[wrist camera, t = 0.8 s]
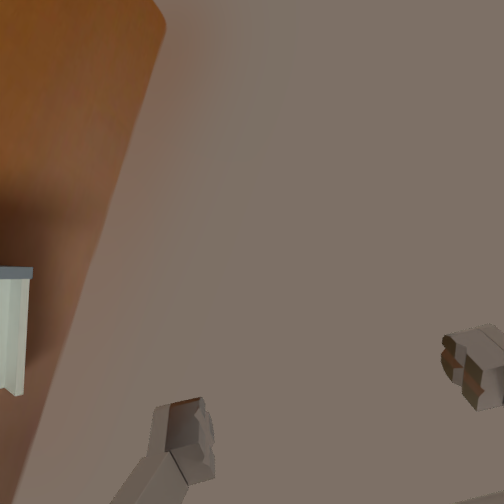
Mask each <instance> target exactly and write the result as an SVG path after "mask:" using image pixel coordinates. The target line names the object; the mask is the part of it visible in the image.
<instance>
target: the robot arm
mask: <svg viewBox="0 0 504 504" xmlns="http://www.w3.org/2000/svg"><path fill="white" fill-rule="evenodd" d="M442 344H443V346H444V347H445V350H444V351H443V352H442V354H441V363H442V366H443V369H444V371H445V373H446V375H447V376H448V378H449V379H450V380H451V381H452V383H454V384H457V385H459V386H461V387H462V395H463V396H464V397H465V398H466V400H467V401H468V402H469V403H470V404H471V406H472V407H473V408H474V409H475V411H482V410H486V409H491V408H495V407H500V406H504V333H503V332H502V331H501V330H499V329H498V328H497V327H496V326H495V325H492V324H486V325H482V326H478V327H475V328H469V329H466V330H462V331H458V332H454V333H450V334H447V335H444V337H443V338H442ZM213 444H214V430H213V424H212V420H211V417H210V414H209V412H207V411H205V402H204V400H203V398H202V397H198V398H193V399H189V400H184V401H180V402H175V403H171V404H168V405H163V406H159V407H156V409H155V411H154V413H153V419H152V425H151V432H150V438H149V444H148V451H147V456H146V457H144V458H142V459H141V460H140V461H139V463H138V464H137V466H136V467H135V468H134V470H133V471H132V473H131V474H130V476H129V477H128V478H127V480H126V481H125V483H124V484H123V485H122V487H121V489H120V490H119V491H118V493H117V494H116V496H115V497H114V498H113V500H112V501H111V503H110V504H181V503H182V501H183V499H184V497H185V495H186V493H187V491H188V488H189V487H188V486H190V485H193V484H197V483H200V482H204V481H207V480H211V479H214V478H215V456H214V454H213V452H212V449H211V448H212V446H213ZM453 504H504V490H503V491H499V492H496V493H491V494H488V495H484V496H480V497H476V498H472V499H468V500H465V501H460V502H457V503H453Z"/></svg>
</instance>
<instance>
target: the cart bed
mask: <svg viewBox="0 0 504 504" xmlns="http://www.w3.org/2000/svg"><path fill="white" fill-rule="evenodd" d="M29 282H30V279H0V389H1V388H5V389H7V390H8V391H9V392H10V393H12V394H13V395H14V396H19V395H23V391H24V373H25V355H26V337H27V319H28V300H29Z"/></svg>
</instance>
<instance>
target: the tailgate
mask: <svg viewBox="0 0 504 504" xmlns="http://www.w3.org/2000/svg"><path fill="white" fill-rule="evenodd" d="M32 278H33V267H19V266H0V279H32Z"/></svg>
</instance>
